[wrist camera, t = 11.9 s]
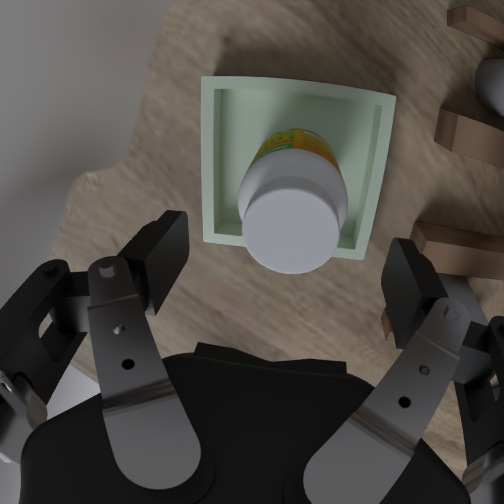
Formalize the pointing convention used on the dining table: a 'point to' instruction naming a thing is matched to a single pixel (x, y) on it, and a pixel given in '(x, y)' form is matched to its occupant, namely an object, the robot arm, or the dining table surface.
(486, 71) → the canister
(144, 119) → the dining table surface
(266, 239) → the supplement bottle
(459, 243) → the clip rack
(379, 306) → the dining table surface
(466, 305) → the cylinder
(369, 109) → the tray
